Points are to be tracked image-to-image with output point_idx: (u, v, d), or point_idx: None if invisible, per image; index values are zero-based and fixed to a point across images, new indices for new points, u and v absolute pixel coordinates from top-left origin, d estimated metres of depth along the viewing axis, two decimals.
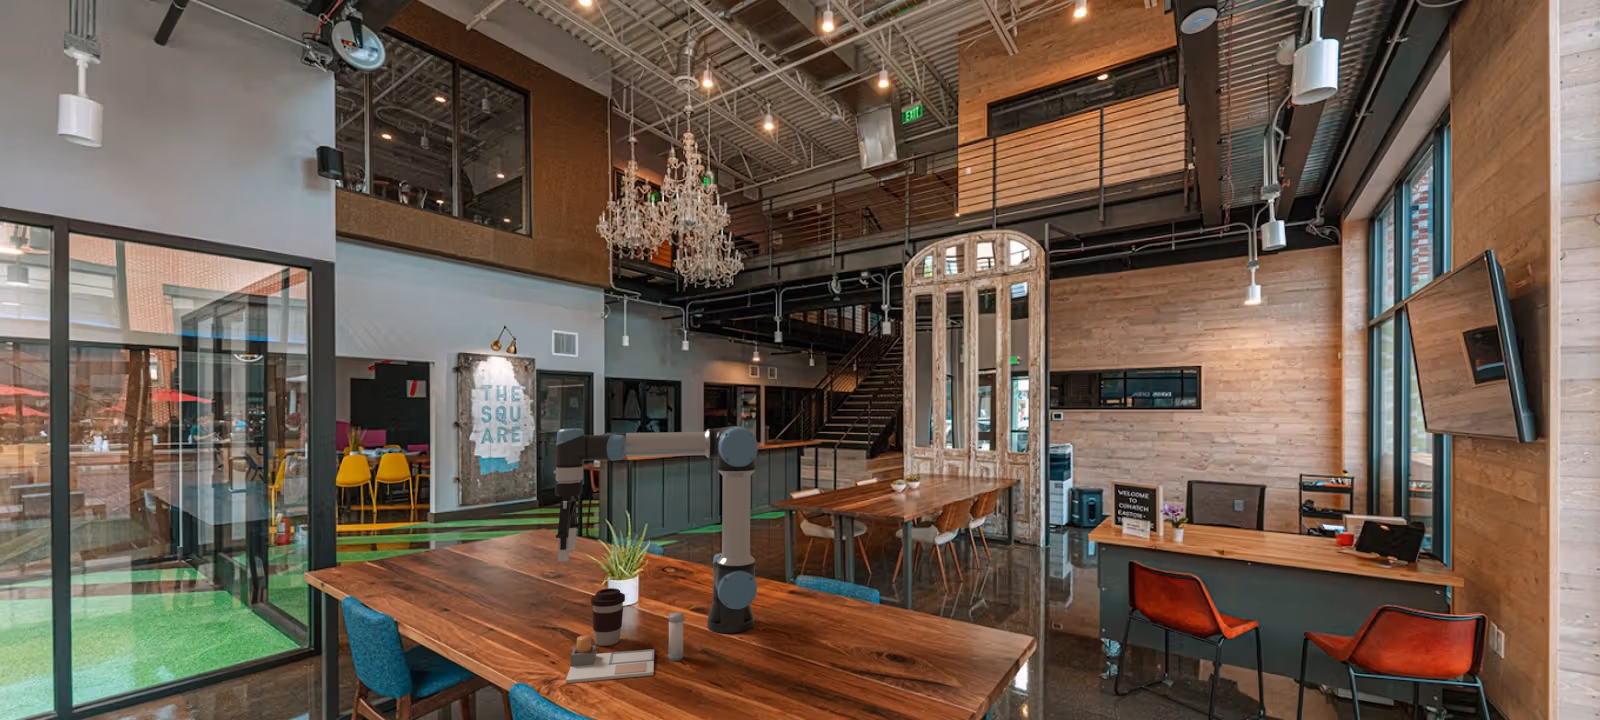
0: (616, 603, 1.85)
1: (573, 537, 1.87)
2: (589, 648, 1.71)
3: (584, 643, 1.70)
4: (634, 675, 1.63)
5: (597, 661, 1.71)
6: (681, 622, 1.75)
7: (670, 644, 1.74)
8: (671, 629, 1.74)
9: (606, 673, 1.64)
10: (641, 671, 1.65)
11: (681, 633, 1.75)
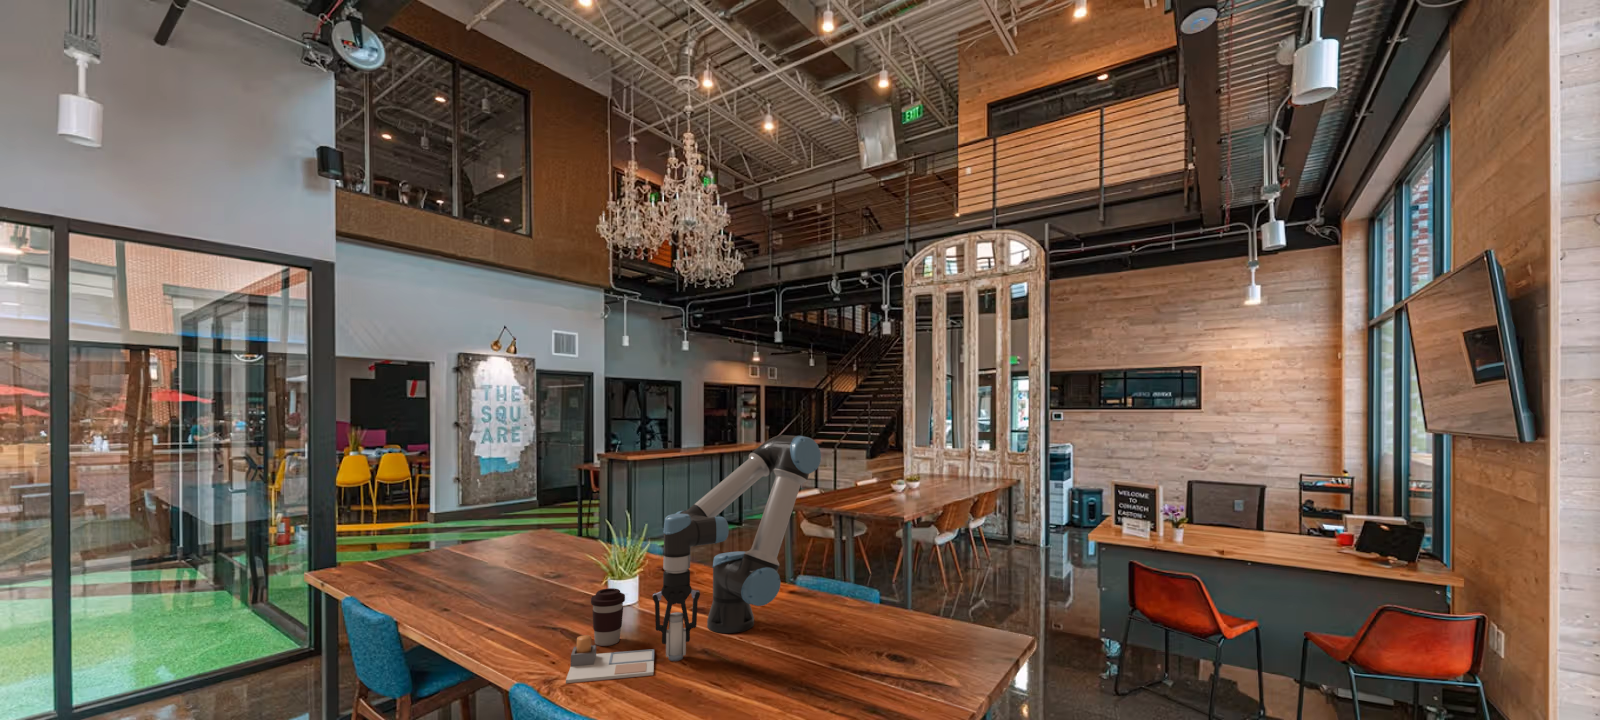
0: (616, 603, 1.85)
1: None
2: (589, 648, 1.71)
3: (584, 643, 1.70)
4: (634, 675, 1.63)
5: (597, 661, 1.71)
6: (681, 622, 1.75)
7: (670, 644, 1.74)
8: (671, 629, 1.74)
9: (606, 673, 1.64)
10: (641, 671, 1.65)
11: (681, 633, 1.75)
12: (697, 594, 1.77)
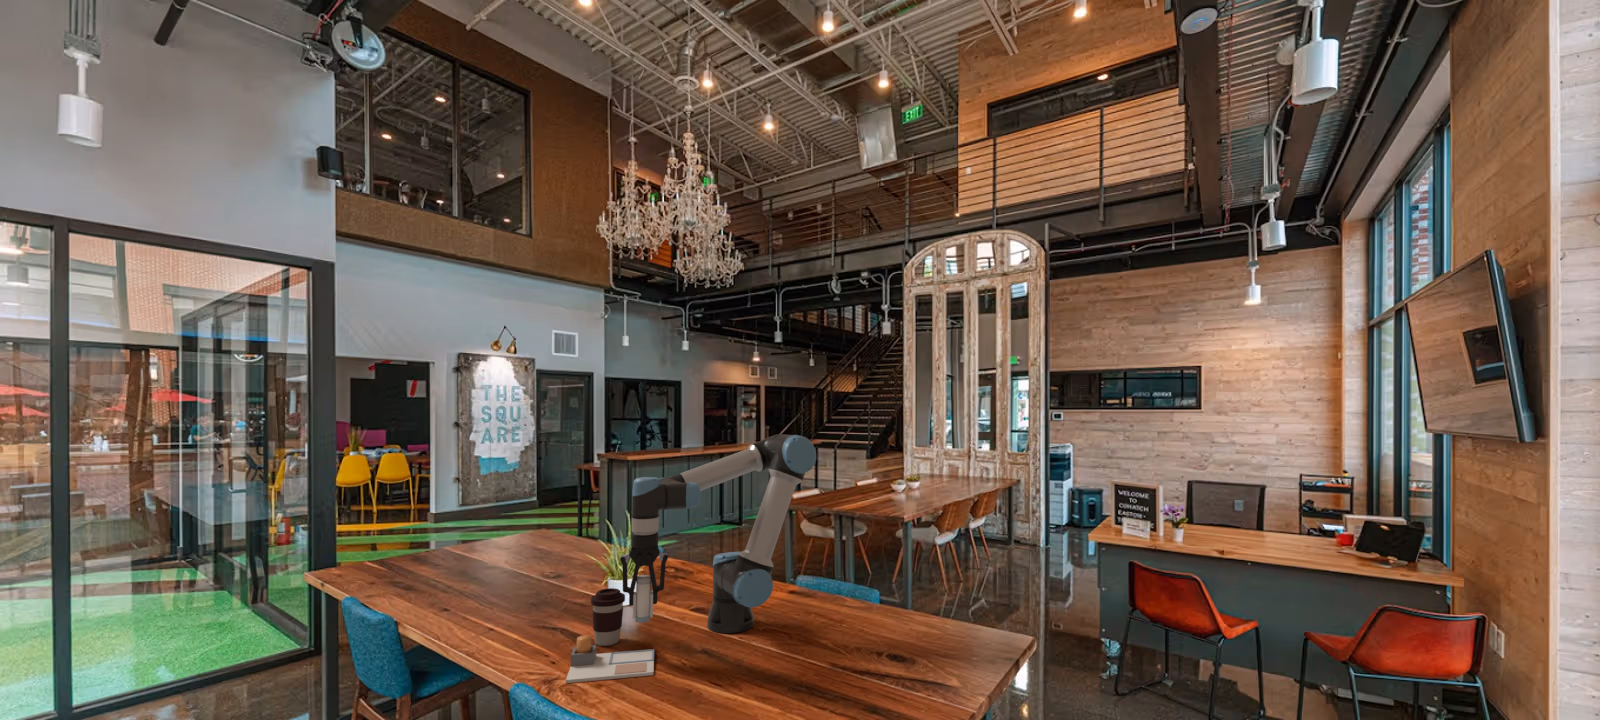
0: (616, 603, 1.85)
1: (650, 603, 1.76)
2: (589, 648, 1.71)
3: (584, 643, 1.70)
4: (634, 675, 1.63)
5: (597, 661, 1.71)
6: (648, 584, 1.75)
7: (637, 606, 1.74)
8: (638, 591, 1.74)
9: (606, 673, 1.64)
10: (641, 671, 1.65)
11: (648, 595, 1.75)
12: (665, 557, 1.77)
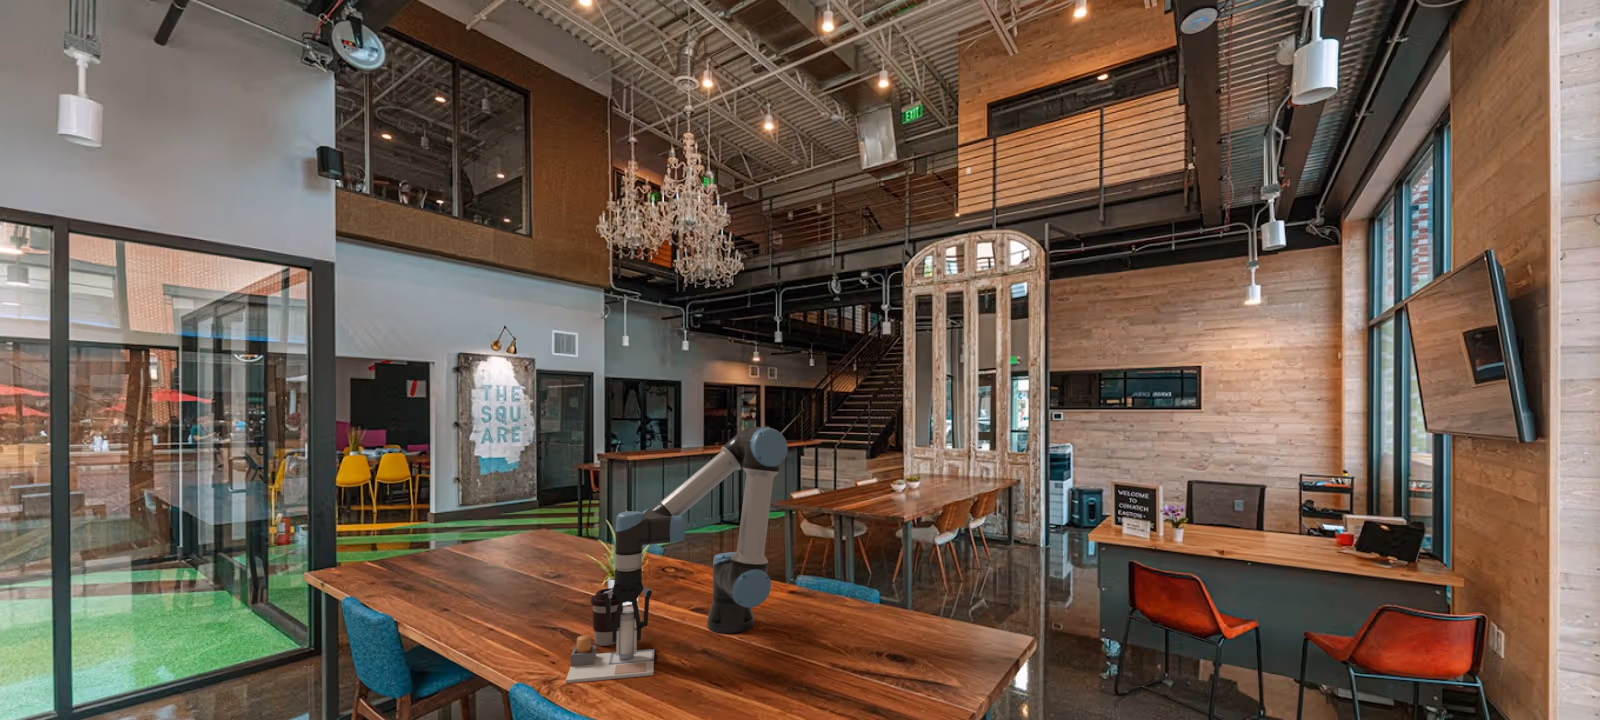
0: (616, 603, 1.85)
1: None
2: (589, 648, 1.71)
3: (584, 643, 1.70)
4: (634, 675, 1.63)
5: (597, 661, 1.71)
6: (632, 621, 1.74)
7: (620, 643, 1.73)
8: (622, 628, 1.73)
9: (606, 673, 1.64)
10: (641, 671, 1.65)
11: (632, 632, 1.74)
12: (649, 592, 1.75)
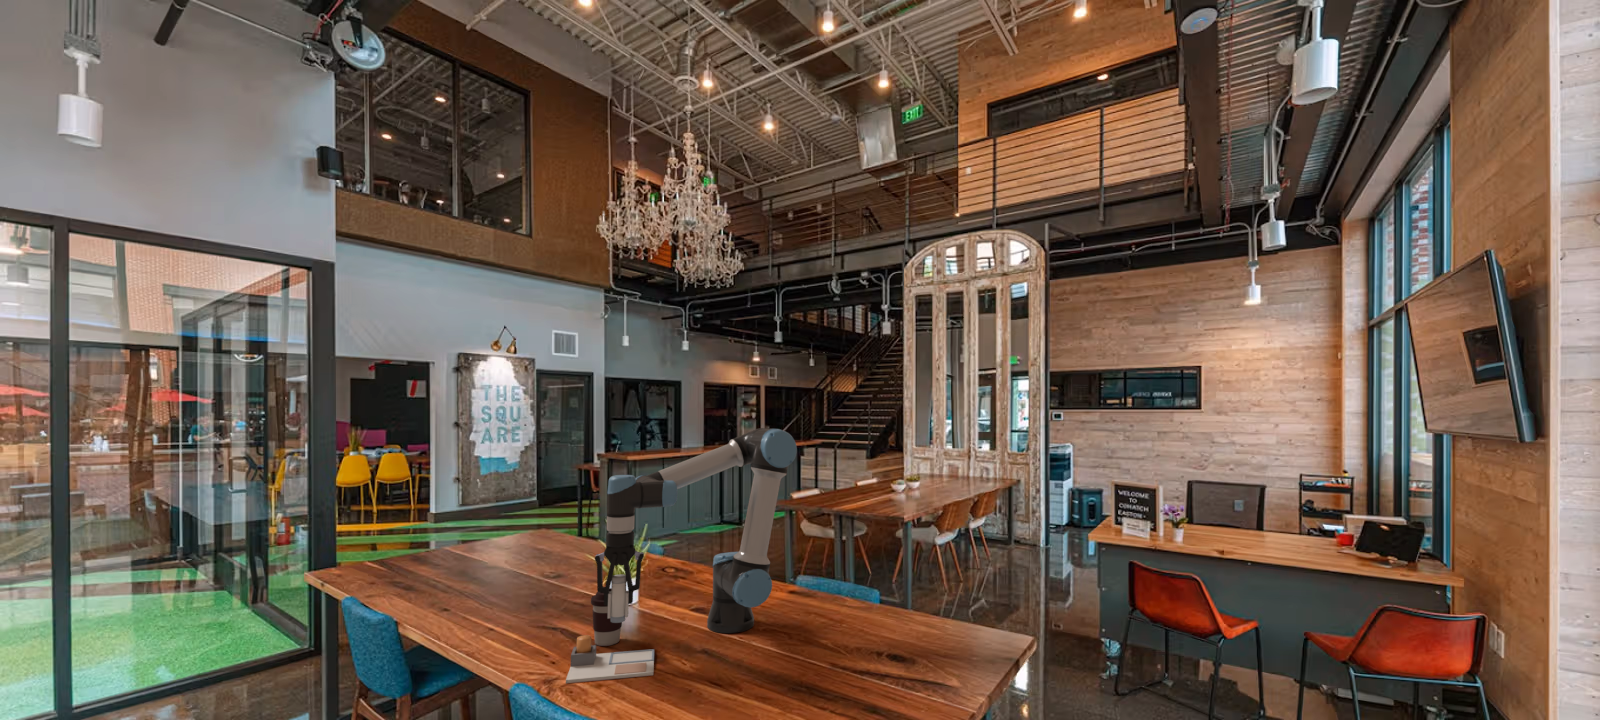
0: None
1: (625, 602, 1.73)
2: (589, 648, 1.71)
3: (584, 643, 1.70)
4: (634, 675, 1.63)
5: (597, 661, 1.71)
6: (624, 584, 1.73)
7: (612, 606, 1.72)
8: (613, 591, 1.72)
9: (606, 673, 1.64)
10: (641, 671, 1.65)
11: (623, 595, 1.72)
12: (641, 556, 1.74)
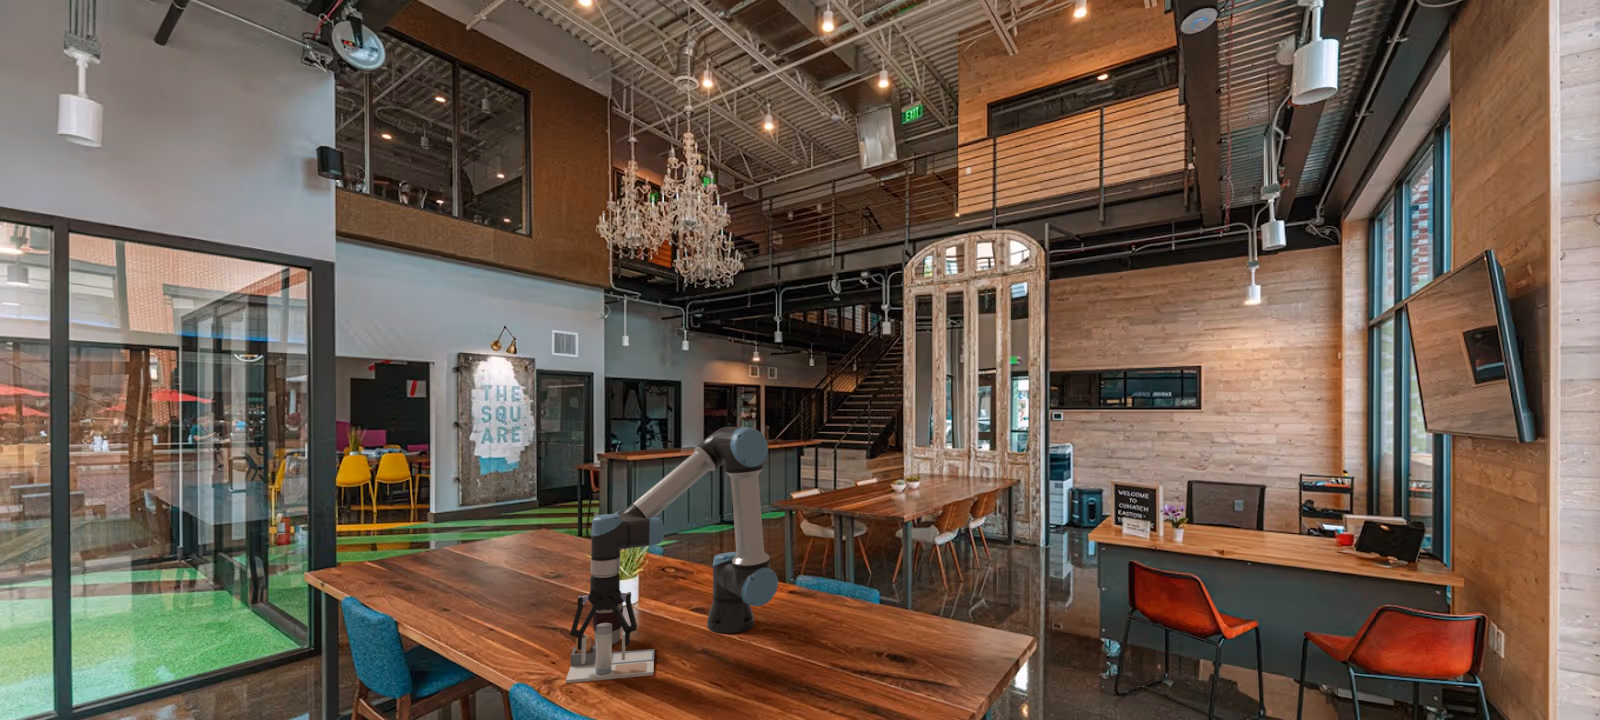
0: None
1: (622, 644, 1.65)
2: (589, 648, 1.71)
3: None
4: (634, 675, 1.63)
5: None
6: (609, 634, 1.64)
7: (597, 657, 1.63)
8: (598, 642, 1.63)
9: None
10: (641, 671, 1.65)
11: (609, 645, 1.64)
12: (628, 596, 1.66)
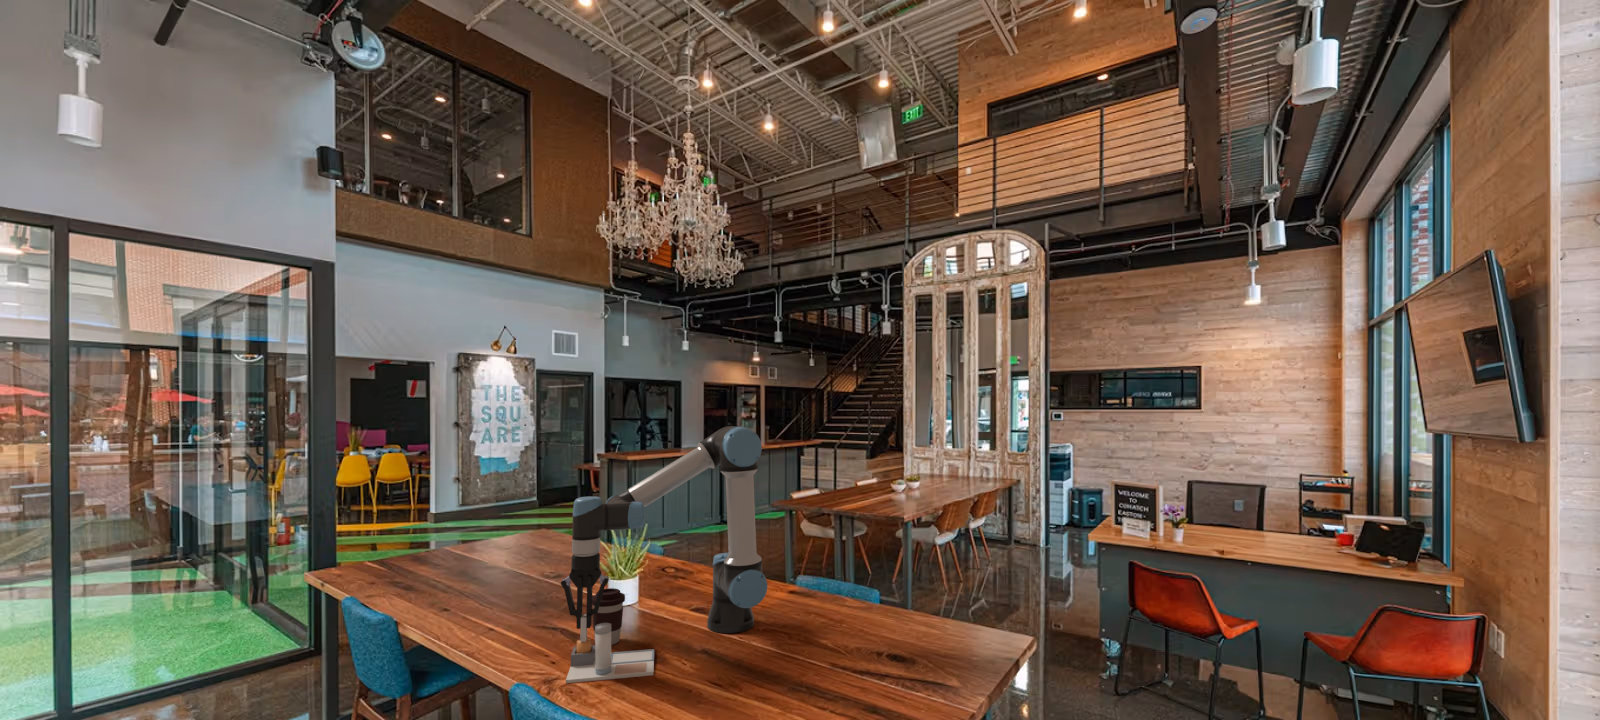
0: (616, 603, 1.85)
1: None
2: (589, 651, 1.71)
3: (584, 646, 1.70)
4: (634, 675, 1.63)
5: None
6: (608, 633, 1.64)
7: (596, 657, 1.63)
8: (597, 642, 1.63)
9: None
10: (641, 671, 1.65)
11: (608, 645, 1.64)
12: (605, 580, 1.73)
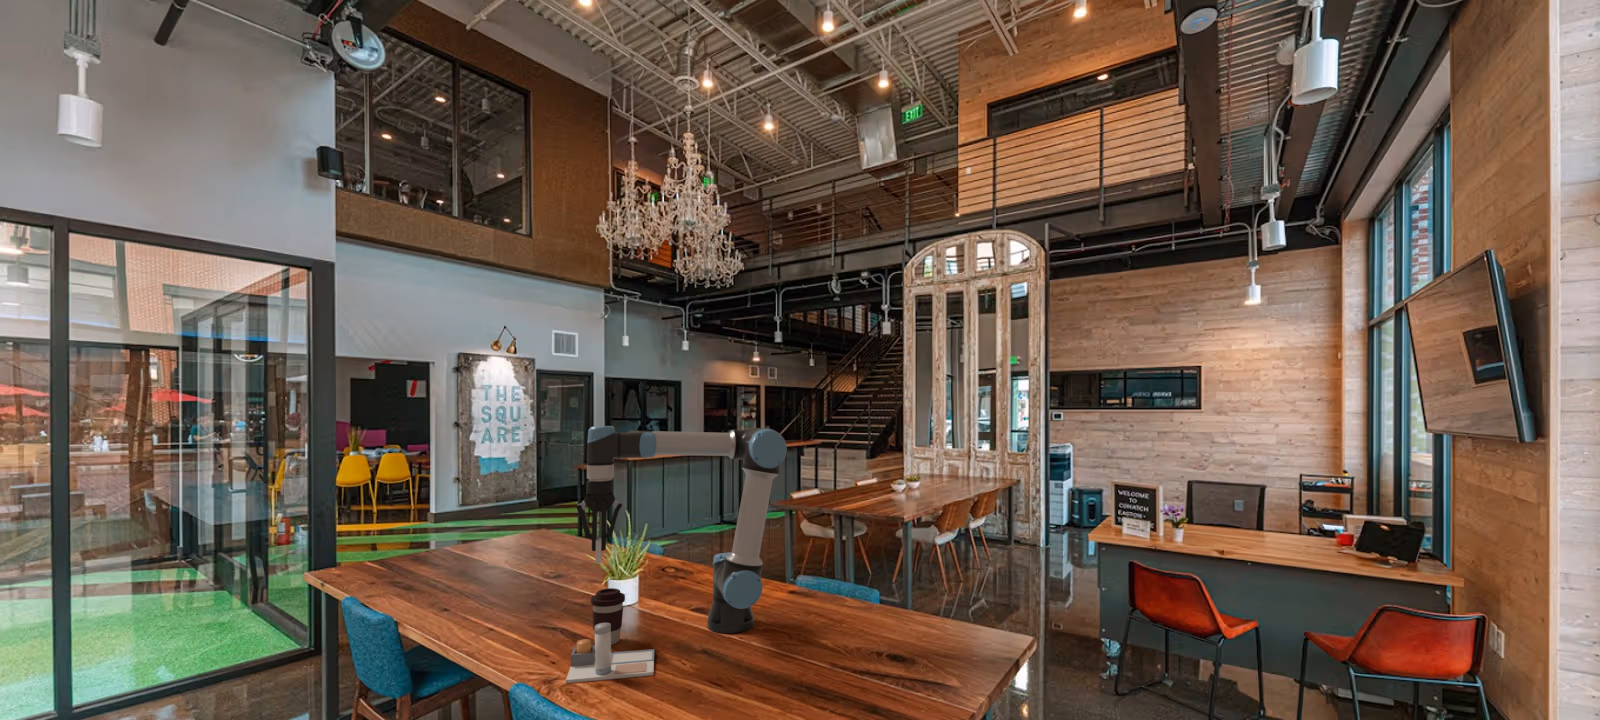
0: (616, 603, 1.85)
1: None
2: (589, 652, 1.71)
3: (584, 647, 1.70)
4: (634, 675, 1.63)
5: None
6: (607, 633, 1.64)
7: (596, 657, 1.63)
8: (597, 641, 1.63)
9: None
10: (641, 671, 1.65)
11: (608, 645, 1.64)
12: (619, 505, 1.80)
